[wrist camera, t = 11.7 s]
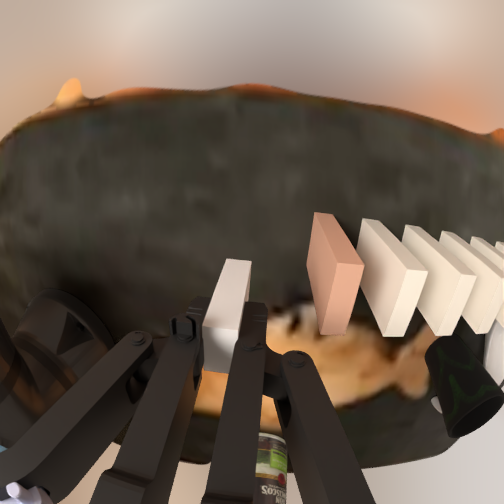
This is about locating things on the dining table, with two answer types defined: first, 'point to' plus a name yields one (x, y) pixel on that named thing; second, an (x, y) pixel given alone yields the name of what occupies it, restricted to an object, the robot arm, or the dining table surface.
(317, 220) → the tile
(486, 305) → the tile
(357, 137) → the dining table surface
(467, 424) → the cup
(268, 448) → the coffee can
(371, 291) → the tile
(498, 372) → the spoon rest
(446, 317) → the tile
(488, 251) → the tile
